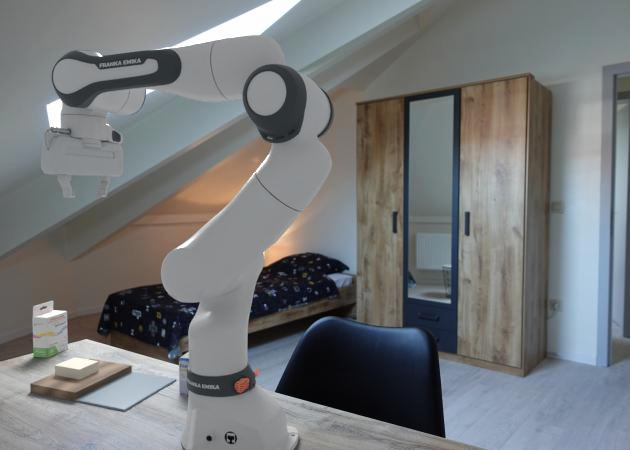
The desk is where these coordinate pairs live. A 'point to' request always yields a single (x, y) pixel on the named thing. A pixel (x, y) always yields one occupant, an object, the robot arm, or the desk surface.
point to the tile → (76, 368)
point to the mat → (126, 391)
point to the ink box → (49, 330)
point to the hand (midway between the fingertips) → (86, 197)
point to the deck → (79, 381)
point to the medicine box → (183, 373)
